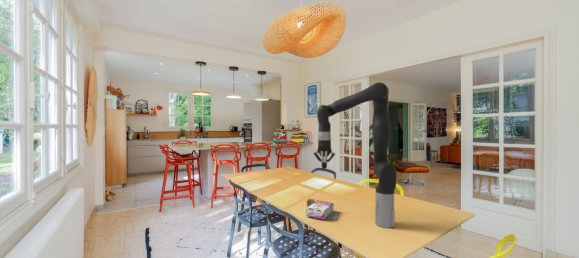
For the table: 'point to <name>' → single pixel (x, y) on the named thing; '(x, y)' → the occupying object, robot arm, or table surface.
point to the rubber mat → (332, 216)
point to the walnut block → (310, 202)
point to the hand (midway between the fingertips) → (324, 168)
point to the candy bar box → (319, 209)
